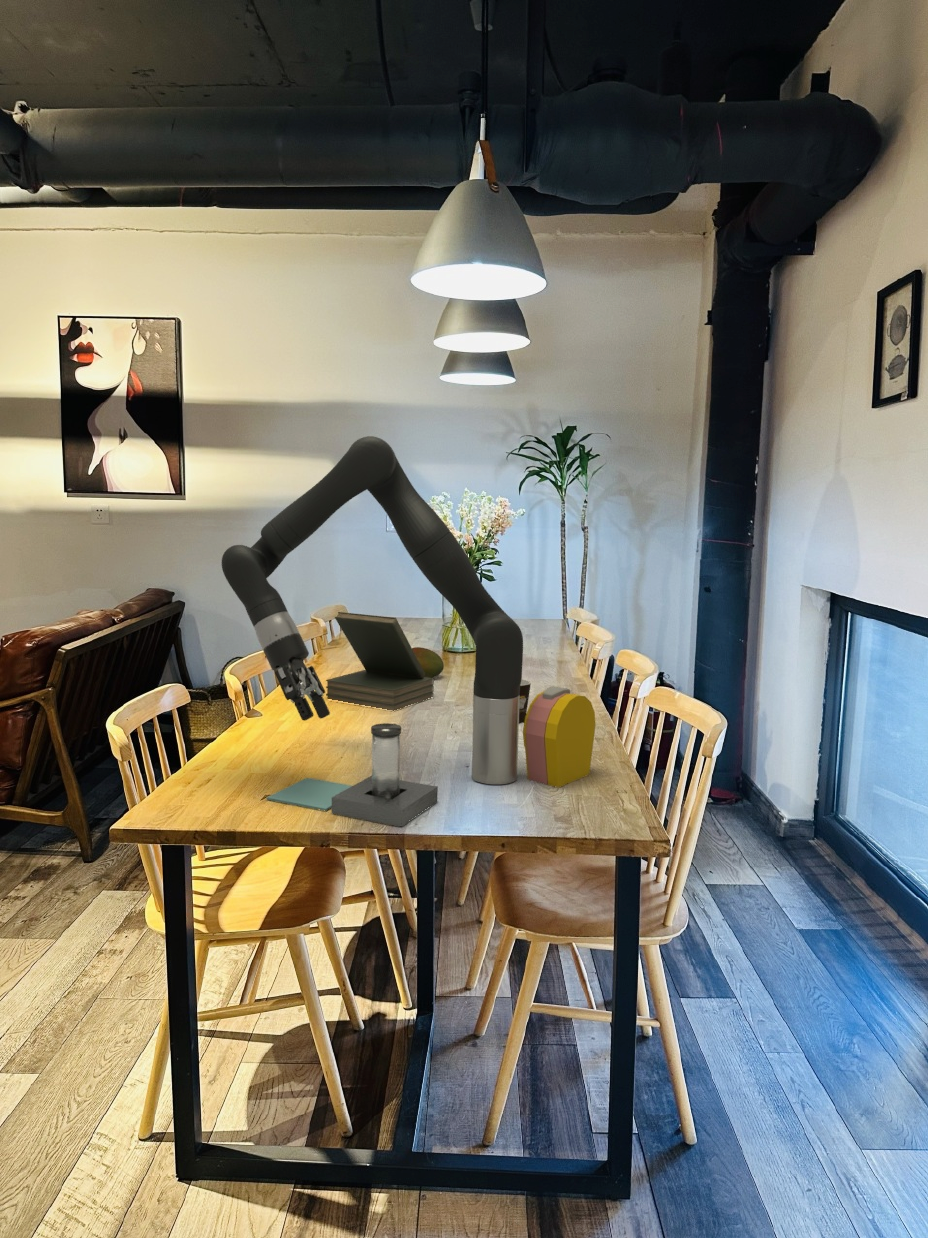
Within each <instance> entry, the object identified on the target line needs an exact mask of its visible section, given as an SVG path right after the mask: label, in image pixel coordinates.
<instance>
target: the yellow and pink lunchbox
mask: <svg viewBox="0 0 928 1238" xmlns="http://www.w3.org/2000/svg"><path fill="white" fill-rule="evenodd" d="M595 732H596V714H595V709H594V707H593V704H592V701H590V699H589V698H588V697H586V695H581V694H580V695H579V694H576V693H575V694H574V693H571V690H570V688H568V687H567V688H566V687H561V686H554V685H553V686H549V687H547V688H546V689H544V690H543V691H542V692H539V693H538V694H536V696H535V697H534V698H533V699H532V701H531V703H530V704H529V706H528V707H527V713H526V716H525V721H524V722H523V730H522V737H523V738H522V739H523V746H524V751H525V764H526V776H527V777H526V778H527V780H528V779H529V780H528V781H531V780H533V781H532V782H535V781H536V783H539V782H540V783H539V784H543V783H544V785H547V784H548V786H550V785H552V786H551V787H554V786H556V787H555V788H558V787H559V788H561V786H562V787H564V786H566V785H568V784H571V783H573V782H575V781H578V780H580V779H582V778H584V777H587V776H589V775H590V772H591V763H592V754H593V748H594V742H595V741H594V740H595ZM588 774H589V775H588ZM586 775H587V776H586ZM583 776H584V777H583ZM581 777H582V778H581ZM579 778H580V779H579ZM577 779H578V780H577ZM574 780H575V781H574ZM572 781H573V782H572ZM570 782H571V783H570ZM567 783H568V784H567ZM565 784H566V785H565ZM563 785H564V786H563Z"/></svg>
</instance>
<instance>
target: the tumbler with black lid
mask: <svg viewBox="0 0 928 1238" xmlns="http://www.w3.org/2000/svg"><path fill="white" fill-rule="evenodd" d="M370 734H371V738H372V739H371V742H372V743H371V776H372V796H377V797H382V798H388V799H393V798H395V797H396V796H398V795H400V780H401V773H400V772H401V734H402V726H401V725H399V724H396V723H388V722H387V723H386V722H384V723H375V724H372V725H371V726H370Z"/></svg>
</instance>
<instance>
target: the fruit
mask: <svg viewBox="0 0 928 1238" xmlns="http://www.w3.org/2000/svg"><path fill="white" fill-rule="evenodd" d="M411 648H412V650H413V652H414V653H415V655H416V657H417V659H418V661H419V663H420V665H421V667H422V669H423V671H424V673H425V676H424V677H428V678H433V679H434V678H436V677H437V676H440V674H441V673H442V672H443V671H444V668H445V667H444V666H445V664H444V661H443V659H442V657H441V656H440V655H439V654H438V653H437V652H435V651H433V650H431V649H429V648H425V647H421V646H415V647H411Z"/></svg>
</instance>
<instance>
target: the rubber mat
mask: <svg viewBox="0 0 928 1238" xmlns="http://www.w3.org/2000/svg"><path fill="white" fill-rule="evenodd" d="M352 786H353V785H351V784H346V783H341V782H334V781H328V780H321V779H316V778H312V777H311V778H310V777H305V778H304V779H302V780H299V781H298V782H295V783H293V784H291V785H290V786H289V785H288V786H286V787H285V788H283V789H281V790H278V791H277V792H275V793H272V794H271V795H270V794H269V796H266V798H265V799H267V800H266V801H269V800H271V801H270V802H274V801H277V802H276V803H279V802H282V803H281V804H284V803H287V804H286V805H290V804H291V806H295V805H298V806H297V807H300V806H302V807H301V808H305V807H308V808H307V809H310V808H314V809H313V810H316V809H320V810H319V811H321V810H325V811H324V812H328V811H329V810H328V809H330V808H331V809H332V797H333V796H335V795H337V794H339V793H341V792H342V791H344V790H346V789H348V788H350V787H352ZM331 809H330V810H331ZM327 810H328V811H327Z"/></svg>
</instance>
